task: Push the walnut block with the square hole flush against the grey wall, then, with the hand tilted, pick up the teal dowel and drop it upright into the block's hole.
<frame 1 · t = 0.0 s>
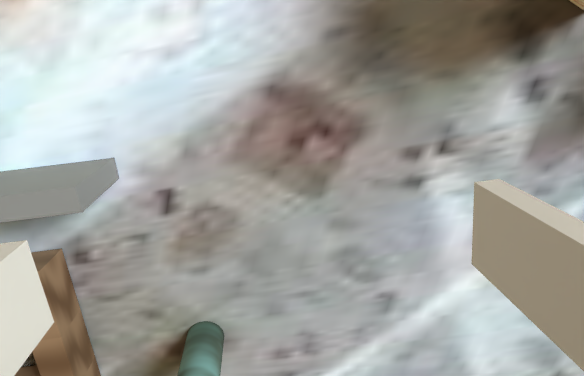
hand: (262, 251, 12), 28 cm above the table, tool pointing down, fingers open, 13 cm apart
dowel: (205, 337, 46), on the table
socket block: (12, 339, 41), point 2 cm above the table, slide at 6.0 cm
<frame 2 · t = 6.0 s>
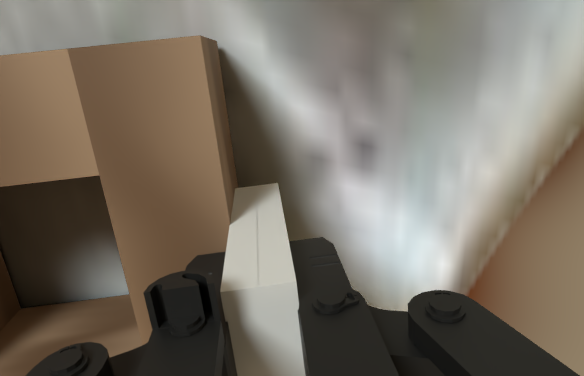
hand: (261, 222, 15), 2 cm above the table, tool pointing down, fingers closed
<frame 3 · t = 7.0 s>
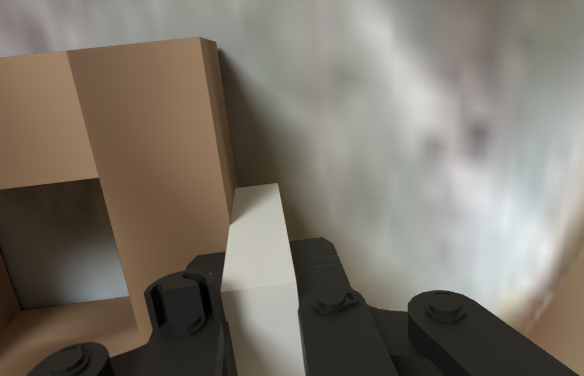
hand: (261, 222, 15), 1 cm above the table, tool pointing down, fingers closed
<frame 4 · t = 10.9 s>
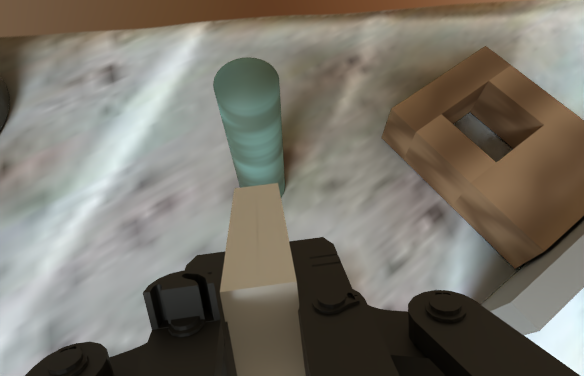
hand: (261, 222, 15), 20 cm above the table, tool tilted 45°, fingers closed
dowel: (262, 186, 38), on the table
socket block: (499, 149, 36), point 2 cm above the table, slide at 0.0 cm
wall: (572, 239, 35), on the table
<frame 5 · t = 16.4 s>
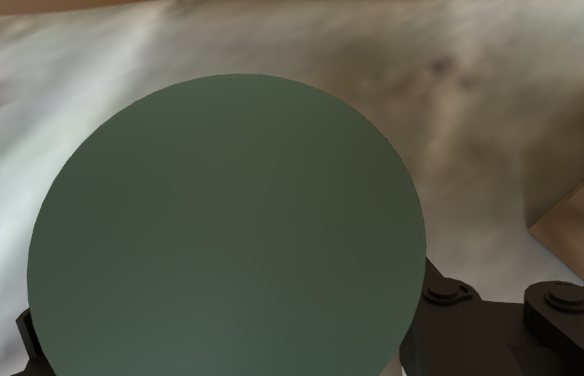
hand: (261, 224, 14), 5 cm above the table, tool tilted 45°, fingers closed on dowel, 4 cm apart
dowel: (279, 354, 17), on the table, touching gripper
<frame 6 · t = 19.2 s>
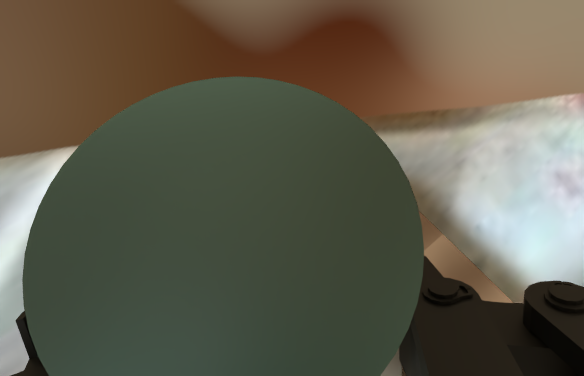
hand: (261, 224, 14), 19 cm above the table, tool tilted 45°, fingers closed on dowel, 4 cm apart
dowel: (279, 356, 17), point 14 cm above the table, touching gripper
socket block: (427, 355, 27), point 2 cm above the table, slide at 0.0 cm
when the fingers open (7 cm above the table, at t = 22.3 s): dowel drops 2 cm, resting in socket block.
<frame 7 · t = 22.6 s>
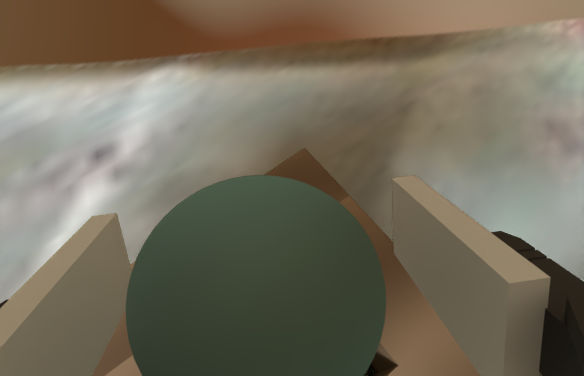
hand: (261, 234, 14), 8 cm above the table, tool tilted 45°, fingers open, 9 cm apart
dowel: (281, 362, 19), resting in socket block
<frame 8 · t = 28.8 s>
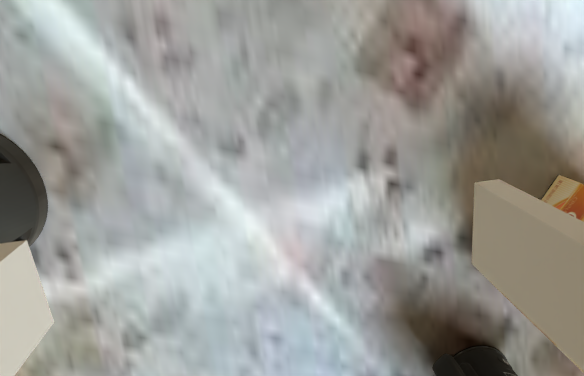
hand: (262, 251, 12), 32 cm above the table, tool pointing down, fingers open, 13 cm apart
coffeecake box: (540, 238, 50), on the table
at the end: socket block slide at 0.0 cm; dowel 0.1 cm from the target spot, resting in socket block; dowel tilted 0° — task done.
